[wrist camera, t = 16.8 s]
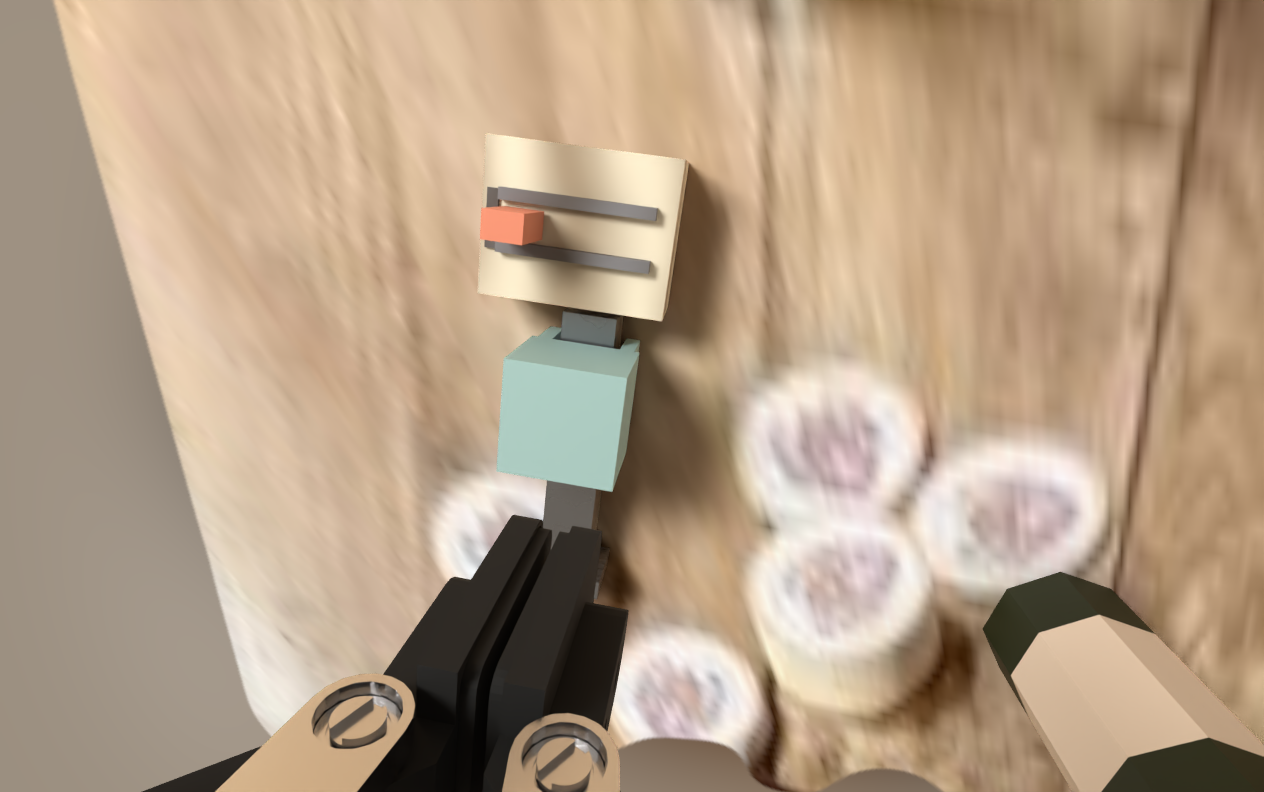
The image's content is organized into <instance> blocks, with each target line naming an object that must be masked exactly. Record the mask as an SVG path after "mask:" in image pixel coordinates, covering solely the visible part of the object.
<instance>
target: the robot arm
mask: <svg viewBox="0 0 1264 792" xmlns="http://www.w3.org/2000/svg"><path fill="white" fill-rule="evenodd" d="M601 539H602V531H600V530H594V529H589V528H583V527H578V526H572V528H571V530H570V532H569V533H567V532H561V531H560V532H559V534H558V536H557V538H556V540H555V542H554V544H553V547H552V549H551V543H552V530H550V529H545V528H543V521H542V520H539V519H534V518H528V517H523V516H517V515H512V517H511V518H510V519H509V521H508V522H507V524H506V526H505V527H504V529H503V530H502V532H501V533H500V535H499V537H498V538H497V540H496V541H495V543H494V545H493V546H492V548H491V549H490V551H489V552H488V554H487V556H486V557H485V559H484V560H483V562H482V563H481V565H480V567H479V568H478V570H477V571H476V573H475V574H474V576H473V578H472V579H471V580H469V579H464V578H458V577H453V578H451V579H450V580H449V581H448V582H447V583H446V585H445V586H444V588H443V589H442V590H441V592H440V593H439V595H438V596H437V598H436V599H435V601H434V602H433V603H432V605H431V606H430V608H429V609H428V611H427V612H426V614H425V615H424V616H423V618H422V619H421V621H420V622H419V624H418V625H417V627H416V628H415V629H414V631H413V632H412V634H411V635H410V637H409V638H408V640H407V641H406V642H405V644H404V645H403V647H402V648H401V650H400V651H399V653H398V654H397V655H396V657H395V658H394V660H393V661H392V663H391V664H390V666H389V667H388V668H387V670H386V671H385V673H384V674H383V675H381V674H359V675H355V676H351V677H347V678H343V679H341V680H339V681H337V682H335V683H332V684H330V685H328V686H326V687H325V688H324V689H322V690H321V691H320V692H319V693H317V694H316V695H315V696H313V697H312V698H311V699H310V700H309V701H308V702H307V703H306V704H305V705H304V706H303V707H302V708H301V709H300V710H299V711H298V712H297V713H296V714H295V715H294V716H293V717H292V718H291V719H290V720H289V721H288V722H286V723H285V724H284V725H283V726H282V727H281V728H280V729H279V730H278V731H277V732H276V733H275V734H274V735H273V736H272V737H271V738H270V739H269V740H268V741H267V742H266V743H265V744H264V745H263V746H261V747H258V748H255V749H253V750H250V751H247V752H245V753H242V754H240V755H237V756H234V757H232V758H229V759H227V760H224V761H221V762H219V763H216V764H213V765H211V766H208V767H206V768H203V769H201V770H198V771H195V772H192V773H190V774H187V775H185V776H182V777H179V778H177V779H174V780H172V781H169V782H166V783H164V784H161V785H159V786H156V787H153V788H151V789H148V790H145V791H143V792H620V760H619V755H618V749H617V746H616V744H615V742H614V741H613V739H612V737H611V735H610V734H609V733H608V732H607V731H608V726H609V721H610V716H611V711H612V706H613V702H614V697H615V692H616V687H617V681H618V676H619V670H620V664H621V658H622V652H623V646H624V640H625V633H626V626H627V619H628V610H625V609H620V608H615V607H610V606H604V605H599V604H594V603H593V602H594V594H595V586H596V578H597V571H598V563H599V555H600V547H601Z"/></svg>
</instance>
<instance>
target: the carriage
mask: <svg viewBox="0 0 1264 792" xmlns="http://www.w3.org/2000/svg"><path fill="white" fill-rule="evenodd" d="M560 338H561V328H558V327H551V326H550V327H549V328H548V329H547V330H546V331H544V332H543V333H542V334H541V335H539V336H538V337H537V336H532V337H531V338H529V339H528V340H527V341H525V342H524V343H523V344H522V345H520V346H519V347H518V348H516V349H515V350H514V351H513V352H511V353H510V354H509V355H508V356H506V357H505V358H504V364H503V380H502V395H501V410H500V426H499V441H498V456H497V472H503V473H509V474H514V475H520V476H526V477H531V478H537V479H543V480H548V481H554V482H560V483H565V484H571V485H577V486H582V487H588V488H594V489H599V490H605V491H611V492H612V491H613V488H614V485H615V483H616V480H617V477H618V474H619V471H620V468H621V466H622V463H623V460H624V457H625V454H626V449H627V442H628V435H629V427H630V420H631V413H632V405H633V398H634V390H635V383H636V376H637V368H638V361H639V354H640V353H639V346H640V340H635V339H628V338H627V339H626V340H625V342H624V344H623V345H622V347H621V348H620V349H613V348H607V347H601V346H594V345H588V344H581V343H575V342H569V341H562V340H560Z"/></svg>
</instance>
